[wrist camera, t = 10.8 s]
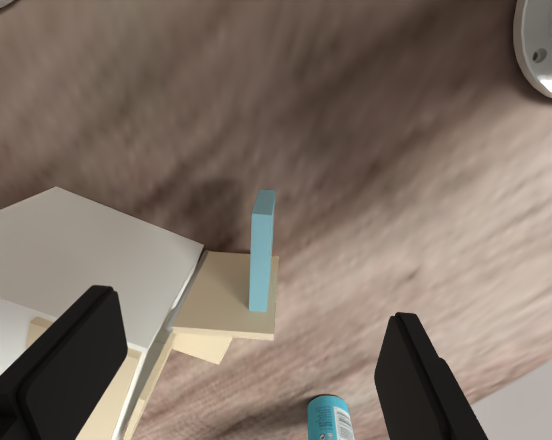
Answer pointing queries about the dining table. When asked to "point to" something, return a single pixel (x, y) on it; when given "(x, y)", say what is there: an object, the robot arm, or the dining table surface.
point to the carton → (97, 271)
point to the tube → (329, 419)
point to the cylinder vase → (4, 2)
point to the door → (234, 286)
